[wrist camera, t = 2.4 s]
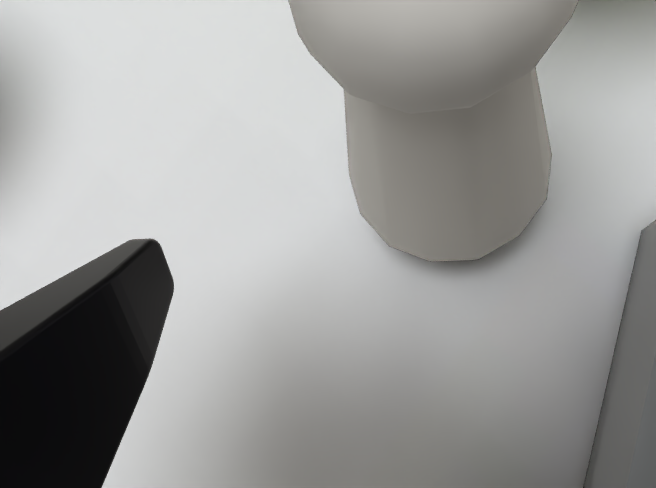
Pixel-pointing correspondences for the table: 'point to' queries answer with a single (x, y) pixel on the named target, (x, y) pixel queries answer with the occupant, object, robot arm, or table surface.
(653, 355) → the box
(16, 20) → the table surface
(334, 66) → the salt shaker
